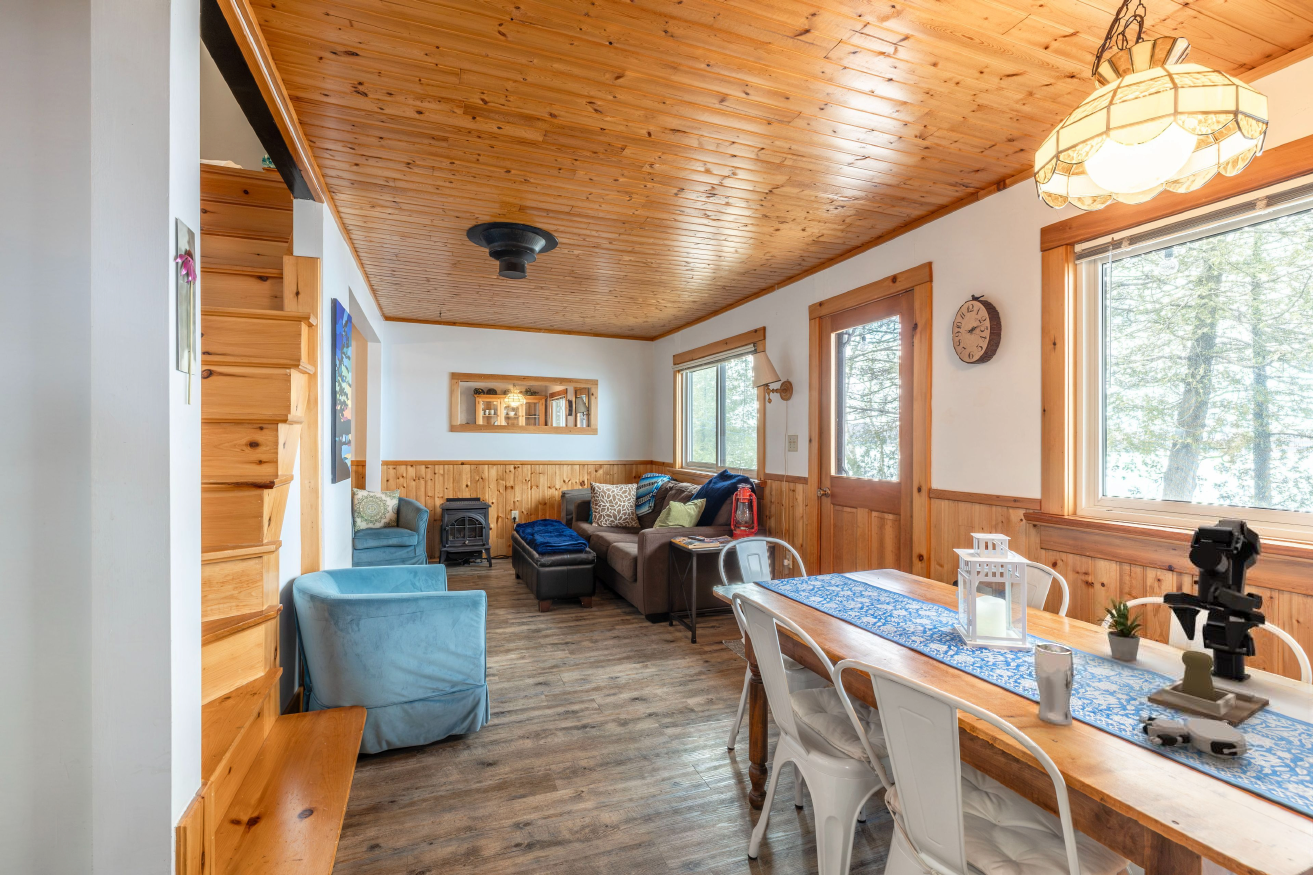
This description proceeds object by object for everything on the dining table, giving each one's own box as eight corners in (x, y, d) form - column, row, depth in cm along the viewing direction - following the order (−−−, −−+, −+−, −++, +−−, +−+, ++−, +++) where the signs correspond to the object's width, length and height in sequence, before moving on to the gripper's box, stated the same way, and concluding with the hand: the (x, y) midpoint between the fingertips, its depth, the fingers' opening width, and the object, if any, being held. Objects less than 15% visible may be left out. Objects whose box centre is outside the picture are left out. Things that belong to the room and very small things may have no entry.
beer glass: (1063, 729, 123) (1061, 655, 123) (1028, 716, 129) (1026, 646, 129) (1082, 721, 126) (1080, 650, 126) (1047, 709, 132) (1046, 640, 132)
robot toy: (1152, 758, 113) (1259, 771, 106) (1149, 733, 113) (1256, 745, 106) (1137, 730, 124) (1233, 741, 117) (1134, 708, 124) (1230, 717, 117)
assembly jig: (1183, 681, 146) (1183, 667, 146) (1269, 704, 133) (1268, 688, 133) (1147, 700, 136) (1147, 685, 136) (1236, 726, 123) (1236, 709, 123)
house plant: (1076, 646, 172) (1075, 589, 173) (1129, 648, 170) (1128, 590, 171) (1106, 664, 158) (1105, 602, 158) (1165, 666, 156) (1163, 603, 157)
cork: (1176, 701, 133) (1175, 651, 133) (1184, 694, 136) (1183, 646, 136) (1213, 711, 128) (1211, 659, 128) (1220, 703, 131) (1219, 653, 132)
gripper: (1203, 567, 135) (1199, 637, 132) (1290, 589, 134) (1288, 660, 130) (1163, 568, 146) (1159, 633, 142) (1243, 588, 144) (1241, 655, 141)
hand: (1211, 645), depth 139 cm, fingers open, 9 cm apart
